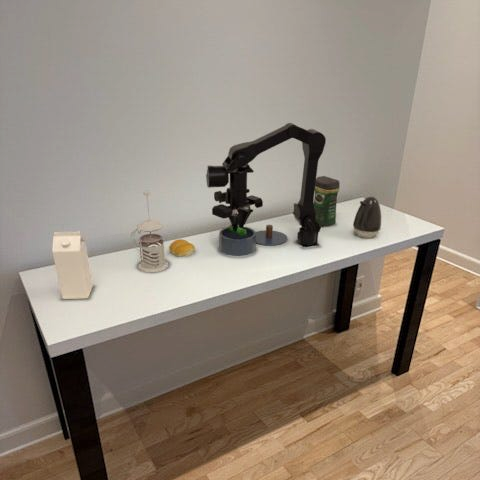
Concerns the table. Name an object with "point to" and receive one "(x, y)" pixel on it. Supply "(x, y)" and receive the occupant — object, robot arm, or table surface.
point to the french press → (151, 260)
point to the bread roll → (182, 248)
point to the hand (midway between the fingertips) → (237, 230)
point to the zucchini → (238, 230)
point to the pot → (237, 242)
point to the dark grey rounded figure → (368, 218)
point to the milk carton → (72, 265)
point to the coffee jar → (326, 200)
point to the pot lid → (270, 237)
